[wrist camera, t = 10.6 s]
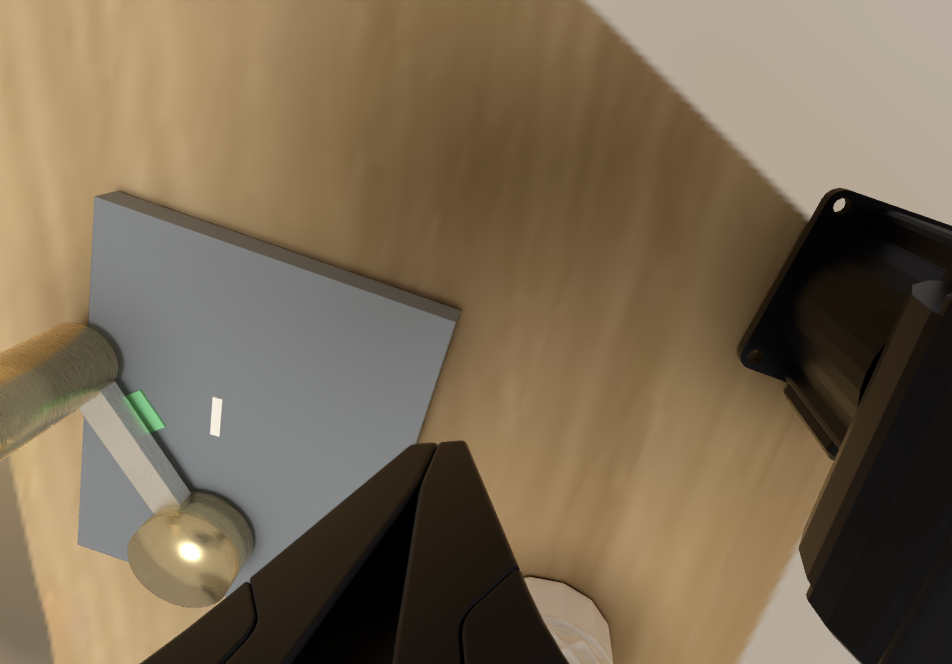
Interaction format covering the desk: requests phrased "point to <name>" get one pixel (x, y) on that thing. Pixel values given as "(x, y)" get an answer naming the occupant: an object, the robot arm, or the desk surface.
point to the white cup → (572, 622)
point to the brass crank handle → (124, 463)
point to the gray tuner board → (250, 373)
